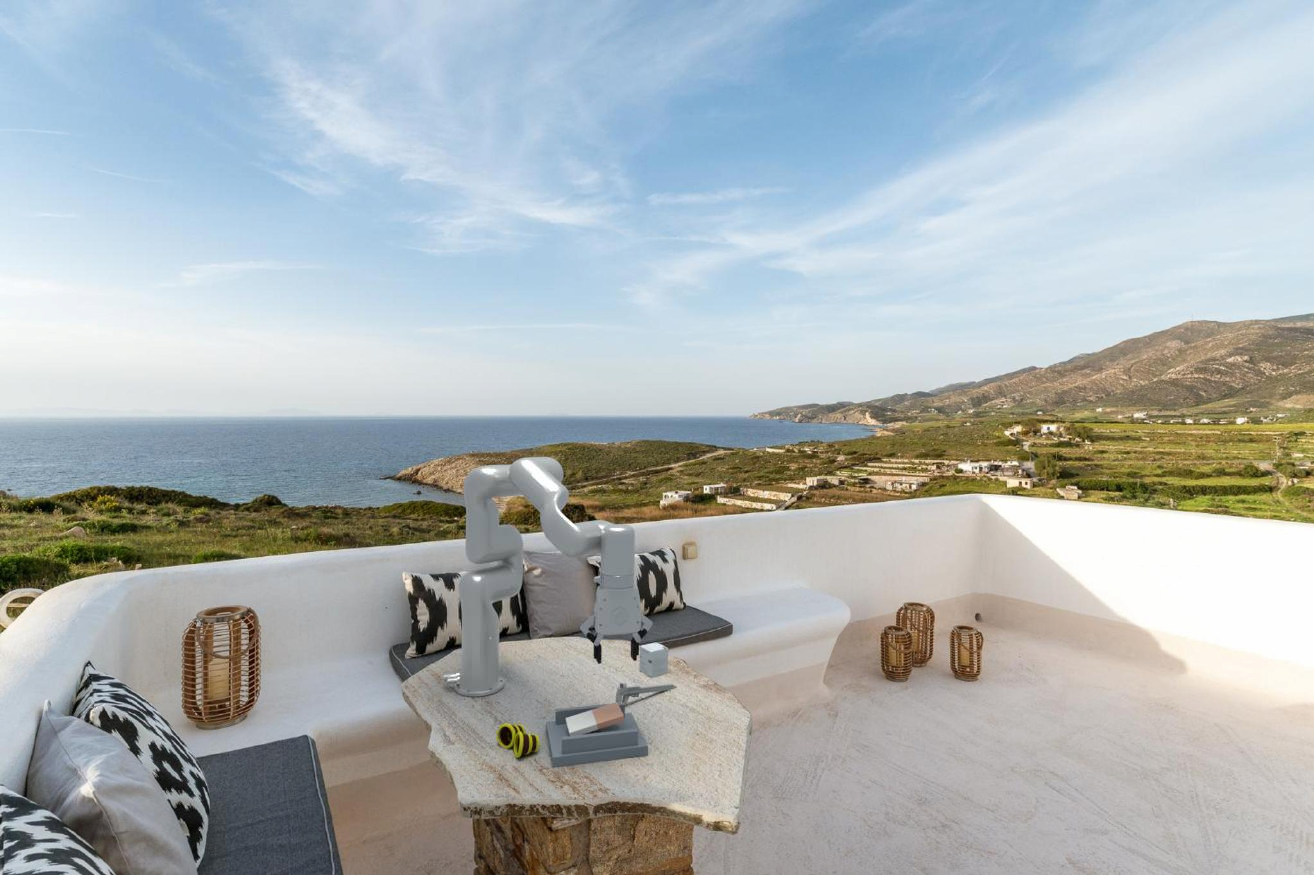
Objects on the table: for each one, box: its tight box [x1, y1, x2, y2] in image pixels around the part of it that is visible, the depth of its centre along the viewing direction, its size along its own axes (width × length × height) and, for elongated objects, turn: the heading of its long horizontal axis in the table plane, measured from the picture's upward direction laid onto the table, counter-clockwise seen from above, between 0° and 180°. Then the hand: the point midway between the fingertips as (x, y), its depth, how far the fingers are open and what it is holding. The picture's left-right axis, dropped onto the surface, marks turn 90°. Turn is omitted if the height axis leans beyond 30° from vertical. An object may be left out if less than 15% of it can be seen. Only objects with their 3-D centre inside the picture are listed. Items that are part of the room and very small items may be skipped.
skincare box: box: [638, 642, 669, 678], centre depth 176 cm, size 6×6×7 cm
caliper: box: [615, 682, 677, 707], centre depth 159 cm, size 20×1×6 cm, turn 133°
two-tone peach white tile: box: [566, 701, 625, 736], centre depth 135 cm, size 12×7×1 cm, turn 106°
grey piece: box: [545, 701, 649, 768], centre depth 135 cm, size 20×16×5 cm
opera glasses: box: [496, 723, 540, 759], centre depth 132 cm, size 10×5×5 cm, turn 44°
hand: (616, 659), depth 136 cm, fingers open, 7 cm apart
